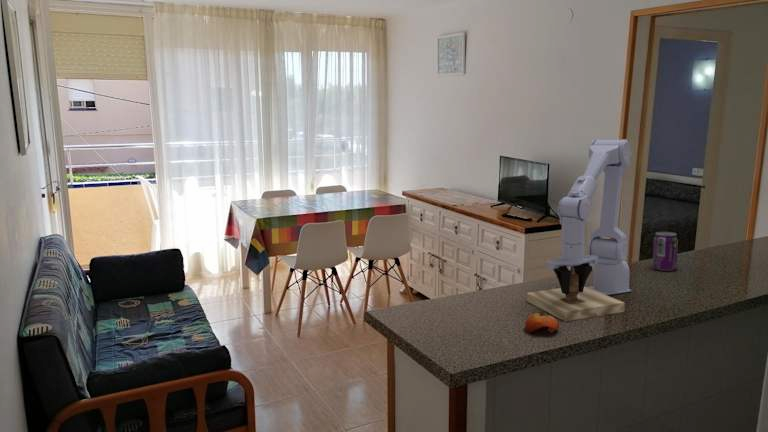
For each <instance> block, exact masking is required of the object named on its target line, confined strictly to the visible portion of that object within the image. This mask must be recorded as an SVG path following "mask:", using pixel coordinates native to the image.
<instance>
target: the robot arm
mask: <svg viewBox="0 0 768 432" xmlns="http://www.w3.org/2000/svg"><path fill="white" fill-rule="evenodd" d="M631 155H632V148H631V144H630V142H629V141H628V139H624V138H623V139H593V140H592V141H591V142H590V144H589V147H588V157H589V160H588V163H587V165H586V168H585V170H584V172H583V174H582V175H580V176H577V178H576V180H575V181H574V183H573V185H572V187H571V189H570V190H569V192H568V194H567V195H566V196H564V197H562V198H561V199H560V200H559V202H558V205H557V215H558V217H559V225H561V256H560V257H557V258H555V259H551V260H547V261H546V268H547V269H549V270H551V271H554V274H555V276H556V278H557V280H558V282H559V288H561V291H562V293H564V294H566V295H567V294H569V282H570V277H571V273H573V270H574V273H575V274H579V292H583V289H584V286H585V287H587V288H590V289H592V290H595V291H597V292H600V293H602V294H605V295H607V296H611V295H616V294H622V293H623V294H624V293H629V292H631V291H632V289H630V267H629V264H628V263H627V261H625V260H626V258H627V256H628V251H629V247H628V236H627V235H626V234H625V233H624V232H623V231H622V230H621V229H620V228H619V222H620V220H619V219H620V209H621V199H622V193H623V192H622V191H623V189H622V188H623V182H624V173H625V171H627V170H628V169H630V164H631ZM603 172H604V179H603V180H604V181H603V191H602V198H601V199H602V201H601V210H600V211H601V212H600V221H599V227H597V229H595V230H594V231H592V232H591V233H590V236H589V241H588V243H587V254H588V255H585V243H586V242H585V239H586V238H585V235H586V233H585V232H586V231H585V230H586V228H585V227H586V219H587V218H588V216H589V214H590V208H591V204H592V202H591V200H592V198H593V196H594V194H595V192H596V191H597V189H598V183H597V180H598V178H599V177H600V176H601V174H602V173H603ZM590 264H591V265H590ZM592 264H593V265H592ZM568 267H570V268H571V267H573V270H571V269H569V268H568ZM592 271H593V285H590V286H586V282H587V281H588V278H589V276H590V274H591V273H592Z"/></svg>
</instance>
